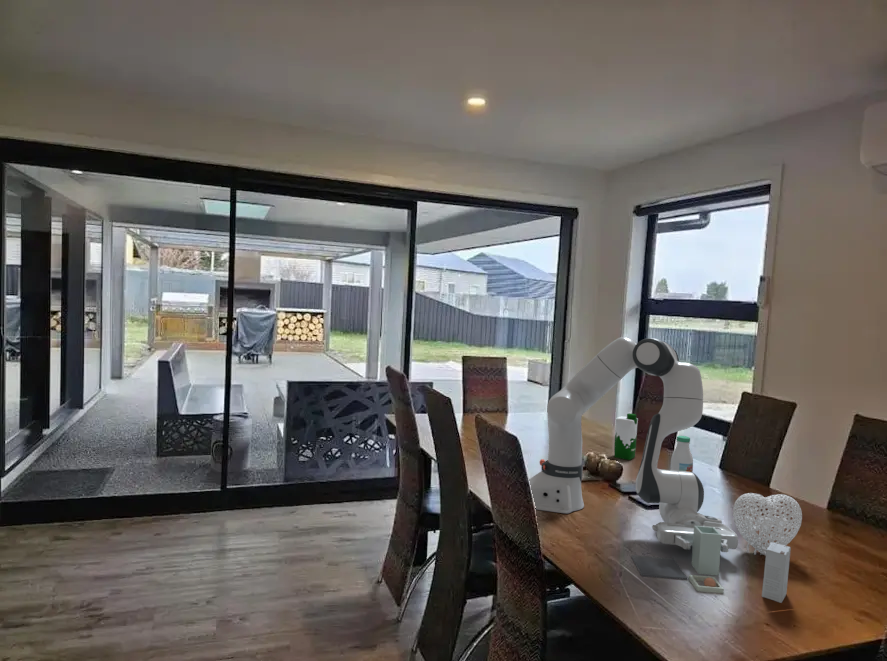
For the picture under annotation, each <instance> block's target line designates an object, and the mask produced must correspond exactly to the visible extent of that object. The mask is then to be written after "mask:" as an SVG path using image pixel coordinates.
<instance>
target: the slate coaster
mask: <svg viewBox="0 0 887 661" xmlns="http://www.w3.org/2000/svg"><path fill="white" fill-rule="evenodd" d="M630 557H631V559H632V561H633V563H634V565H635V566H636V568H637V571H638V572H639V574H640V576H641V577H647V578H649V577H650V578H660V579H669V580H670V579H672V580H685V581H688V576H687V575H686V573H685V572H684V571H683V570H682V568H681V566H680V565H679V564H678V563H677V561H676V560H675V558H674V557H673V558H672V557H664V556H663V557H661V556H652V555H651V556H650V555H649V556H648V555H638V554H637V555H636V554H631V556H630Z"/></svg>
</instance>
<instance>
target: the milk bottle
mask: <svg viewBox="0 0 887 661" xmlns="http://www.w3.org/2000/svg"><path fill="white" fill-rule="evenodd" d="M676 442H677V443H676V446H675V448H674V450H673V452H672V454H671V458H670V469H669V470H673V471H676V470H677V471H687V472H693V470H694V469H693V468H694V457H693V453H692V452H691V449H690V444H691V437H689V436H685V435H677V436H676ZM693 473H694V472H693Z"/></svg>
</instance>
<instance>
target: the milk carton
mask: <svg viewBox="0 0 887 661" xmlns="http://www.w3.org/2000/svg"><path fill="white" fill-rule="evenodd" d="M638 421H639V418H637V414H635V413H629V412H628V413H627V414H626V416H623V415H621V416H618V417H616V418H615V425H614V426H615V427H614V428H615V429H614V452H613V453H614V458H617V459H621V460H627V461H631V460H633V459H634V458H635V457H636V452H637V450H636V449H637V436H638V435H637V433H638V423H639V422H638Z"/></svg>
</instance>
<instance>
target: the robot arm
mask: <svg viewBox="0 0 887 661" xmlns="http://www.w3.org/2000/svg"><path fill="white" fill-rule="evenodd" d="M637 368H638V369H639V370H641V371H642V372H644V373H646V375H650V376H654V377H659V378H660V379H661V381H662V383H663V402H662V406H661V408H660V410H659V412H658V413H656V414H653V416H652V417H651V420H650V422H649V426H648V428H647V429H648V430H647V432H646V437H645V443H644V447H643V452H642V456H641V462H640V466H639V468H638V470H637V471H638V472H637V475H636V479H635V492H636V495H637V496H638V497H639V498H640V499H641V500H643V501H644V502H645V503H646V504H659V506H658V509H659V510H658V511H659V515H660V517H661V519H662V521H663V522H662V521H660V522H658V523H656V524H652V526H651V528H652V530H653V532H656V537H657V540H658V542H659V543H661V544H664V545H670V546H671V545H673V546H679V547H681V548H682V549H684V550H691V547H693V534H694V526H706V527H714V528H715V529H716V530H717V531H718V532H719V533H720V534H721V550H720V553H721V552H722V553H729V549H730V550H736V549H737V548H738V546H739V545H738V544H739V536H738V534H737V533H736V532H735V531H734V530H733V529H731V527H730V526H728V525H726V524H724V523H723V521H722V519H721V518H718V517H714V516H709V515H706V514H702V513H699V511H700V510H701V507H702V506H703V504H704V499H705V488H704V485H703V483H702V482H701V479H700V478H699V477H698V475H697V474H696V473H694V472H687V471H677V470H676V471H673V470H670V469H660V468H658V463H659V458H660V454H661V448H662V444H663V441H664V440H665V438H666V437H668V436H670V435H671V434H674V433H677V432H680V431H681V432H682V431H684V430H687V429H690V428H692V427H693V426H695V425H696V424H698V423H699V421H700V420H701V419H702V417H703V411H704V388H703V381H702V375H701V370H700V369H699V368H698V367H697V366H696V365H694V364H692V363H690V362H685V361H683V362H682V361H680V360H679V355H678V353H677V351H676V350H675V348H673V347H672V346H671V345H670V344H668V343H667V342H665V341H664V340H660V339H658V338H654V337H648V338H647V337H646V338H644V339H641V340H640V341H638V342H636V341H634V340H633V339H631V338H629V337H626V336H621V337H617V338H616V339H615V340H612V341H611V342H610V343H608V344H607V345H606V346H605V347H603V348H602V349H601V350H600V351H599V352H598V353H597V354H596V355H594V356H593V358H591V359H590V360H589V361H588V362H587V363H586V364H585V365H584V366H583V367H582V368H581V369H580V370H578V372H577V373H576V374H575V376H573V377H572V378H571V379H570V381H568V382H567V383H566V384H565V385H564V386H563V387H562V388H561V389H560V390H559V391H557V392H556V393H555V394H553V395H552V396H551V397H550V399H549V400H548V403H547V408H546V410H547V427H548V428H547V429H548V453H547V454H548V456H547V460H545V459H544V458H543V459H542V458H541V459H540V460H539V465H540V466H541V467H540V468H541V471H540V472H538V473H536V474H535V475H533V476H532V477H530V478H528V479H529V481H530V485H531V490H532V494H533V498H534V502H535V506H536V509H535V510H539V511H545V512H553V513H561V514H571V513H572V512H575V511H580V510H582V509H583V508H585V504H584V500H583V495H582V494H583V492H582V480H583V471H584V468H583V464H582V463H583V462H582V456H583V433H582V417H583V415H584V414H585V413H586V412H588V410H589V409H590V408H591V407H592V406H594V405H595V404H596V403H597V402H598V401H599V400H600V399H601V398H603V397H604V396H605V395H606V394H607V393H608V392H609V391H610V390H611V389H612V388H614V387H615V386H616V385H617V384H618V383H619V382H620V381H621V380H622V379H623V378H624V377H625V376H627V374H628V373H630V372H631V371H632V370H634V369H637Z"/></svg>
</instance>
